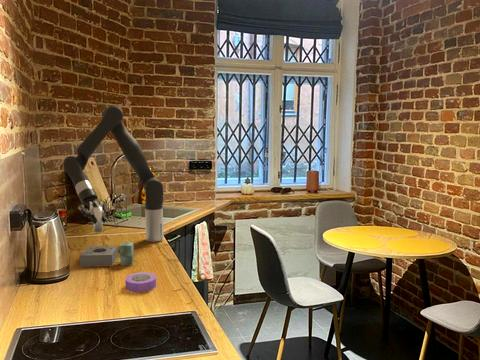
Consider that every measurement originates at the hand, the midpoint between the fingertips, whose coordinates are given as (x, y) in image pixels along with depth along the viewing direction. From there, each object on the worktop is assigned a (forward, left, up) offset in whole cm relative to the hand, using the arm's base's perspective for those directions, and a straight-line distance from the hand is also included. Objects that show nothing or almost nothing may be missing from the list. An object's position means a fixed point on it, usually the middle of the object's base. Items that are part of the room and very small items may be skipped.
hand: (100, 221), depth 197 cm
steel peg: (+1, -1, -5) cm, 5 cm away
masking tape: (-22, +32, -19) cm, 43 cm away
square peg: (-12, +4, -18) cm, 22 cm away
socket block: (+1, 0, -18) cm, 18 cm away
